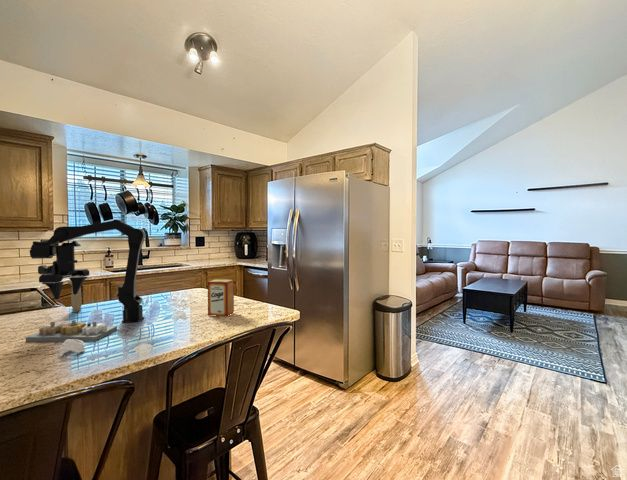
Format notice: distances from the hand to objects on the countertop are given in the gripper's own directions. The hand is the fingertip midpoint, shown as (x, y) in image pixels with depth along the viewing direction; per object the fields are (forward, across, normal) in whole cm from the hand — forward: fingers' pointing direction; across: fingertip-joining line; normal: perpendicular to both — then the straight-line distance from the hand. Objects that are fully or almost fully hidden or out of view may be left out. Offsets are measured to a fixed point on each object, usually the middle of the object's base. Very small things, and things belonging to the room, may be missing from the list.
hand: (66, 296), depth 123 cm
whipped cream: (+12, +27, +22) cm, 37 cm away
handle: (+12, -24, -14) cm, 30 cm away
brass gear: (+10, +11, +11) cm, 19 cm away
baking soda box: (+12, -17, +57) cm, 61 cm away
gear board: (+12, +11, +11) cm, 20 cm away
